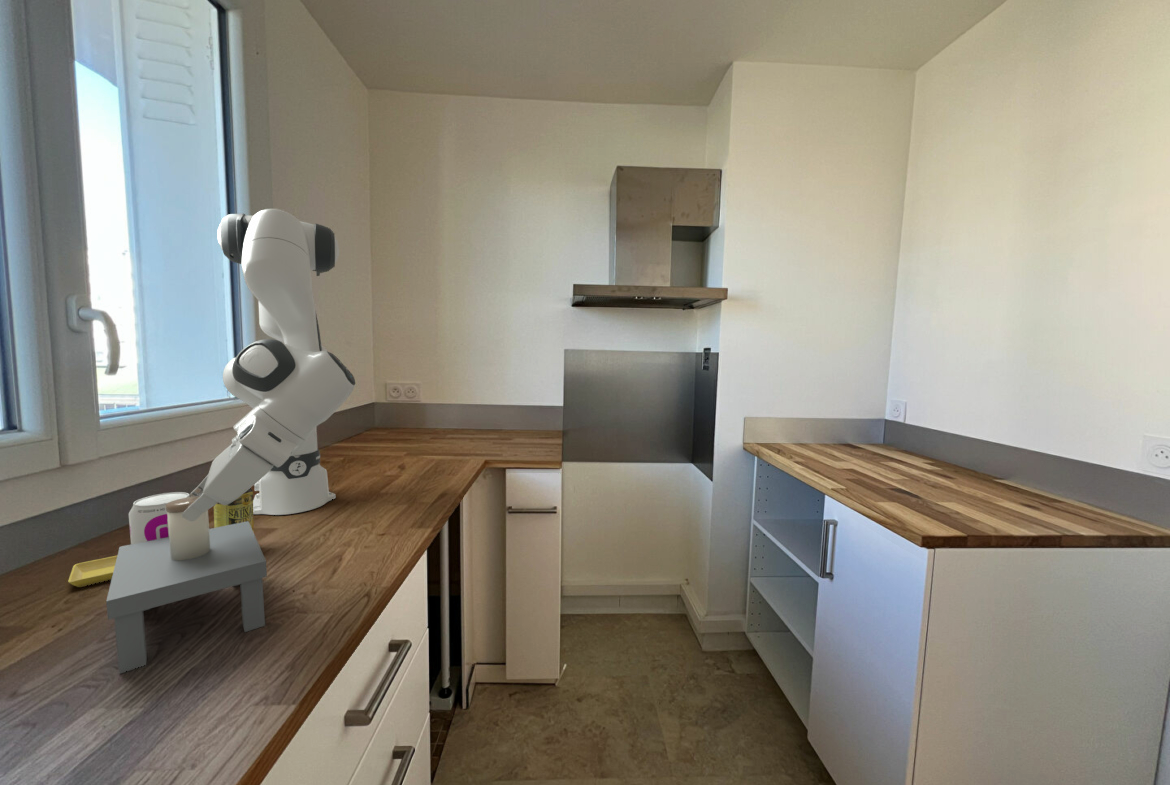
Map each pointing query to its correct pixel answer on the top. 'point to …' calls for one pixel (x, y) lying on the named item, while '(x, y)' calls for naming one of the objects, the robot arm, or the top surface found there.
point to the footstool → (182, 583)
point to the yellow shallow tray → (92, 571)
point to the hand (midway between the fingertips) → (190, 507)
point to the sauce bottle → (235, 511)
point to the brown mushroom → (187, 531)
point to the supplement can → (151, 517)
